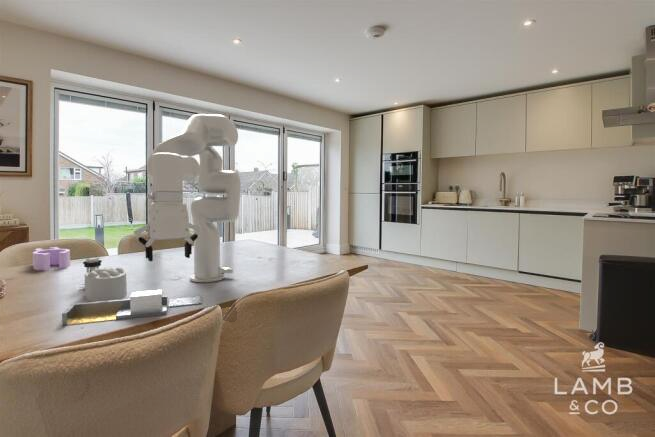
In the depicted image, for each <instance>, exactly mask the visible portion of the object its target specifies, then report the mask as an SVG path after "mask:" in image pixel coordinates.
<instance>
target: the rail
mask: <svg viewBox="0 0 655 437" xmlns="http://www.w3.org/2000/svg"><path fill="white" fill-rule="evenodd" d="M167 311H168V295H162V310H157V311H147V312H137V313H131V311H130V298H125V299H124V298H121V299H118V300H111V301H89V302H81V303H80V302H78V303H71V304H69V306H68V307H67V308H66V309H65V310H64V311H63V312H62V313H61V320H62V321H61V324H62V325H61V326H71V325H81V324H89V323H99V322H107V321H110V322H111V321H117V320H126V319H137V318H145V317H157V316H163V315H167Z"/></svg>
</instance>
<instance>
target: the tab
mask: <svg viewBox="0 0 655 437" xmlns="http://www.w3.org/2000/svg"><path fill="white" fill-rule="evenodd" d="M194 305H202V297H201V295H198V296H190V297H180V298H169V303H168V307H169V308H175V307H176V308H177V307H184V306H185V307H186V306H194Z"/></svg>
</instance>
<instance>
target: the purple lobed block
mask: <svg viewBox="0 0 655 437" xmlns="http://www.w3.org/2000/svg"><path fill="white" fill-rule="evenodd" d="M34 249H35V250H34V251H33V252H32V269H33V270H35V271H43V272H46V271H50V270H51V266H52V265H53V266H54V265H59V269H68V267H70V266H71V249H68V248H60V247H58V246H52V247H51V246H50V247H49V249H48V248H47V249H43V248H42V247H39V248H34Z"/></svg>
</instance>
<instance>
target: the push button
mask: <svg viewBox="0 0 655 437" xmlns="http://www.w3.org/2000/svg"><path fill="white" fill-rule="evenodd" d="M102 262H103V261H102V260H101V259H99V257H89V258H85V260H84V261H83V262H82V264H83V265H84V268H86V273H89V272H91V271H92V270H94V269H98V268H100V266H101V263H102ZM83 288H84V289H85V283H82V284H80V286H79V289H83Z"/></svg>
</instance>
